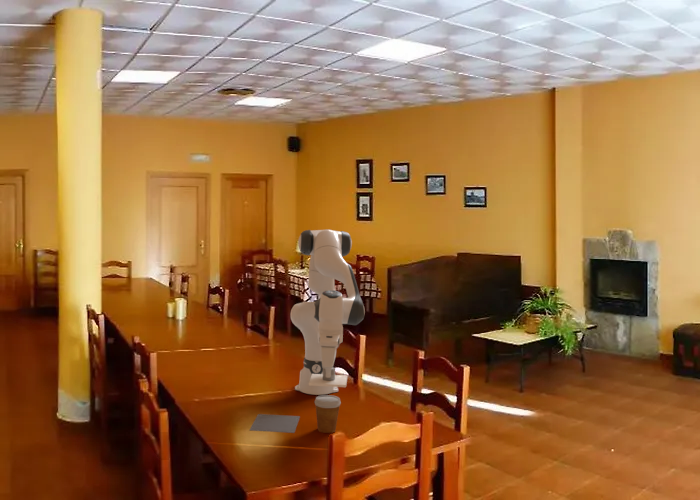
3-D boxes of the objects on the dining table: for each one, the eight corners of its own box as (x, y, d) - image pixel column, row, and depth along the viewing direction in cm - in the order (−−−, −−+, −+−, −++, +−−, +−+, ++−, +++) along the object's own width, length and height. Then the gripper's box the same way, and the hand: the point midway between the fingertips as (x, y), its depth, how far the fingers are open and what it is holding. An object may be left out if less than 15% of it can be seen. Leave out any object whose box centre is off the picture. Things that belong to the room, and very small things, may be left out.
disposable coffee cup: (339, 427, 245) (340, 395, 244) (339, 436, 235) (341, 403, 234) (313, 426, 244) (314, 394, 243) (312, 435, 235) (314, 402, 234)
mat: (258, 415, 254) (258, 414, 254) (300, 417, 253) (300, 416, 253) (249, 431, 236) (249, 430, 236) (294, 434, 235) (294, 432, 235)
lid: (312, 375, 245) (312, 362, 245) (347, 377, 245) (348, 364, 244) (308, 385, 232) (309, 371, 232) (345, 387, 232) (346, 373, 231)
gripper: (323, 330, 248) (322, 367, 249) (319, 342, 227) (317, 382, 228) (340, 331, 247) (339, 368, 248) (337, 343, 227) (336, 383, 228)
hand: (328, 375), depth 238 cm, fingers closed on lid, 4 cm apart
